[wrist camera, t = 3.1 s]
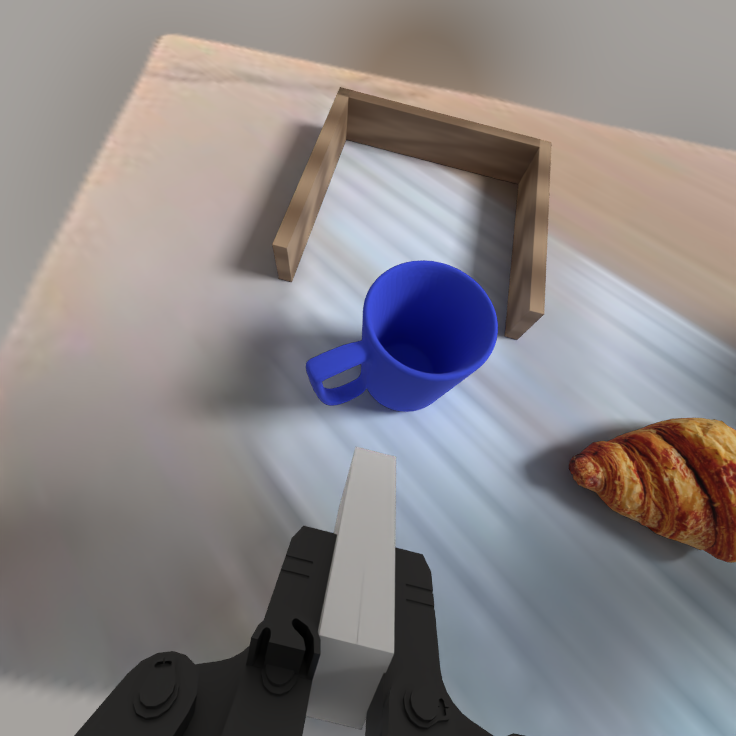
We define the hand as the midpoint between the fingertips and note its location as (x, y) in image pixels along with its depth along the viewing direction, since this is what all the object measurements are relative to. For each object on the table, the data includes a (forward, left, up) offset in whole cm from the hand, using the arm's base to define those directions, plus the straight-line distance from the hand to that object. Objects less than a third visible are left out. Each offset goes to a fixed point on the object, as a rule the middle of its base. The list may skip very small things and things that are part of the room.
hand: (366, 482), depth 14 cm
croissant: (-7, -26, -15) cm, 31 cm away
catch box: (+23, -14, -14) cm, 31 cm away
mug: (+8, -5, -15) cm, 17 cm away
